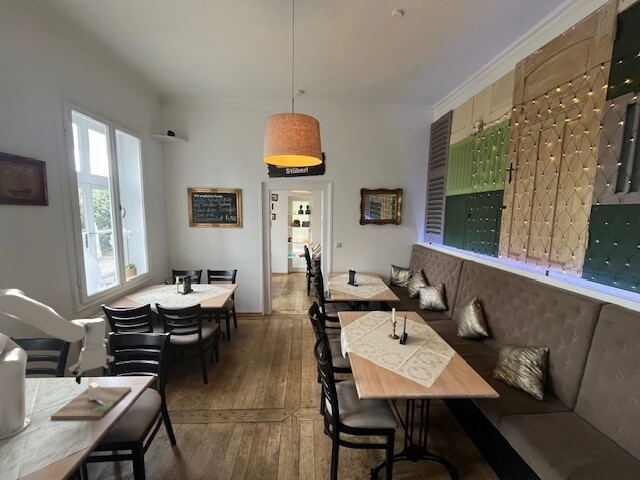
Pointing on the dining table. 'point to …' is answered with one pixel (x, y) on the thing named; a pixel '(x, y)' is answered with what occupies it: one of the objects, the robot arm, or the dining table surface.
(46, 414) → the dining table surface
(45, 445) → the dining table surface
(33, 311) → the robot arm
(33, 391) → the dining table surface
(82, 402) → the panel
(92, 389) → the peg knob
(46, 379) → the dining table surface
